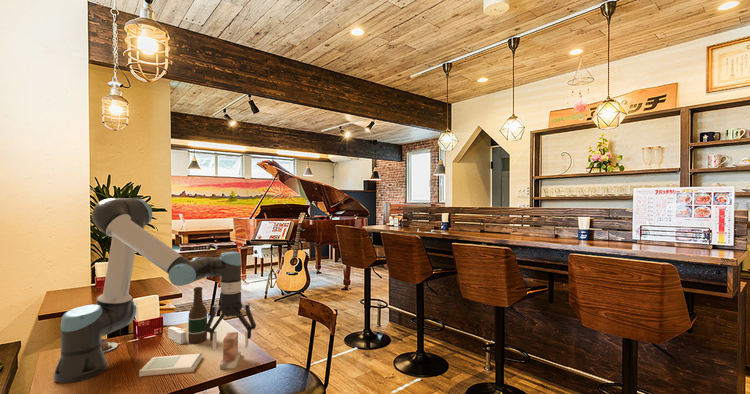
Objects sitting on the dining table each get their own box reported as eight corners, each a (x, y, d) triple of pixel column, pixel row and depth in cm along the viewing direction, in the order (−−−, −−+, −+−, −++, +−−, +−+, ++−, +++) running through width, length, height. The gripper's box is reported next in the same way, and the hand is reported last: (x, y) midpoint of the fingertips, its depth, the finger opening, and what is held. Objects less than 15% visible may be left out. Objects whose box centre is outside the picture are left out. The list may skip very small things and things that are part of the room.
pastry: (77, 357, 148) (77, 346, 148) (90, 346, 160) (90, 336, 160) (111, 354, 151) (111, 343, 152) (122, 343, 163) (122, 333, 163)
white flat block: (139, 376, 131) (139, 370, 131) (152, 362, 143) (152, 356, 143) (193, 372, 134) (193, 366, 134) (202, 358, 146) (202, 353, 146)
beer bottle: (210, 337, 168) (210, 285, 168) (201, 344, 160) (201, 289, 160) (194, 337, 169) (194, 285, 169) (184, 343, 161) (184, 289, 161)
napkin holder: (164, 338, 169) (164, 325, 169) (191, 334, 174) (191, 322, 174) (158, 350, 155) (159, 337, 155) (188, 346, 160) (188, 333, 160)
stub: (219, 369, 136) (219, 342, 136) (226, 355, 148) (226, 331, 148) (235, 368, 137) (235, 341, 137) (240, 354, 149) (240, 330, 149)
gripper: (195, 295, 137) (195, 354, 137) (261, 292, 141) (261, 349, 141) (201, 291, 144) (201, 346, 144) (263, 288, 149) (263, 342, 149)
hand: (230, 348), depth 143 cm, fingers open, 11 cm apart
